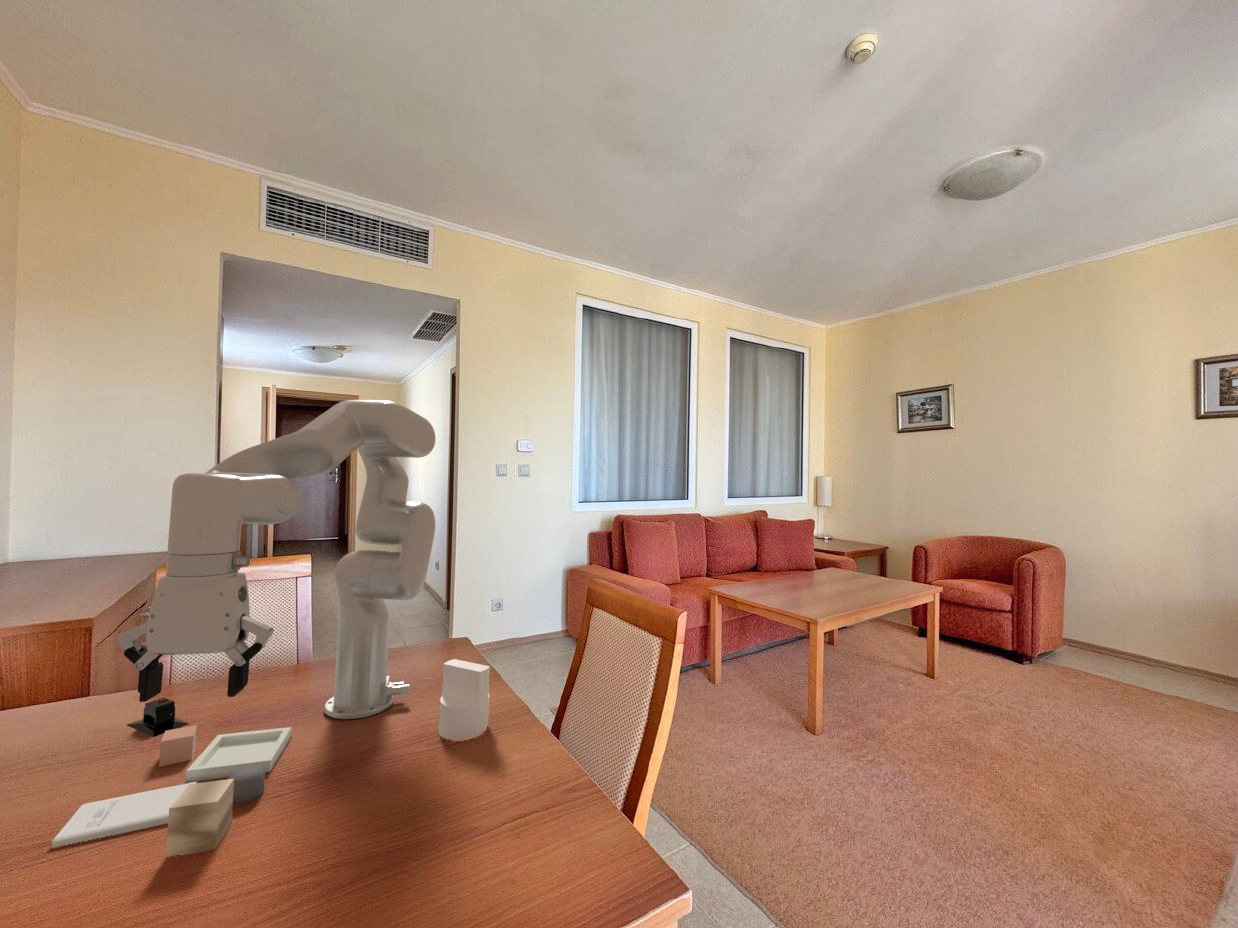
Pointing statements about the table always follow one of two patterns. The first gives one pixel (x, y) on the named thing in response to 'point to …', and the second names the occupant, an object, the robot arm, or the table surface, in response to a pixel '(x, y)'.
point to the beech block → (200, 817)
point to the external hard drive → (119, 815)
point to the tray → (239, 753)
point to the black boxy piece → (158, 718)
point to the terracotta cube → (177, 745)
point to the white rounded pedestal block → (464, 700)
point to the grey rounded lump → (248, 784)
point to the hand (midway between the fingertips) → (193, 695)
